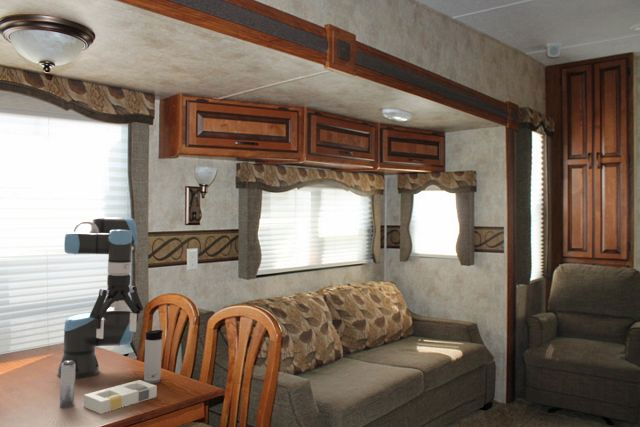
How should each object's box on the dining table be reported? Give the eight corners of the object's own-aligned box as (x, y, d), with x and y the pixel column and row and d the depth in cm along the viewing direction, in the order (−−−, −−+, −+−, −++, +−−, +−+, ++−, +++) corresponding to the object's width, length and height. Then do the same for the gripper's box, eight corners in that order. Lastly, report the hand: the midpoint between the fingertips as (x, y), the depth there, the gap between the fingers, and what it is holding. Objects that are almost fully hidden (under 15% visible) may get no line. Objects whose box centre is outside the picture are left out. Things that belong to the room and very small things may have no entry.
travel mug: (156, 384, 211) (158, 332, 210) (140, 382, 212) (142, 331, 212) (164, 379, 217) (166, 329, 217) (148, 378, 218) (150, 327, 218)
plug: (57, 405, 185) (58, 361, 185) (69, 402, 188) (71, 359, 188) (64, 408, 182) (65, 364, 182) (76, 405, 186) (78, 361, 186)
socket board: (83, 406, 185) (84, 394, 185) (139, 390, 203) (139, 379, 203) (101, 414, 179) (101, 401, 179) (156, 397, 197) (157, 385, 197)
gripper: (94, 278, 179) (91, 343, 179) (154, 272, 200) (152, 330, 200) (80, 275, 183) (77, 339, 183) (140, 270, 204) (138, 327, 204)
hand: (116, 334), depth 192 cm, fingers open, 13 cm apart
